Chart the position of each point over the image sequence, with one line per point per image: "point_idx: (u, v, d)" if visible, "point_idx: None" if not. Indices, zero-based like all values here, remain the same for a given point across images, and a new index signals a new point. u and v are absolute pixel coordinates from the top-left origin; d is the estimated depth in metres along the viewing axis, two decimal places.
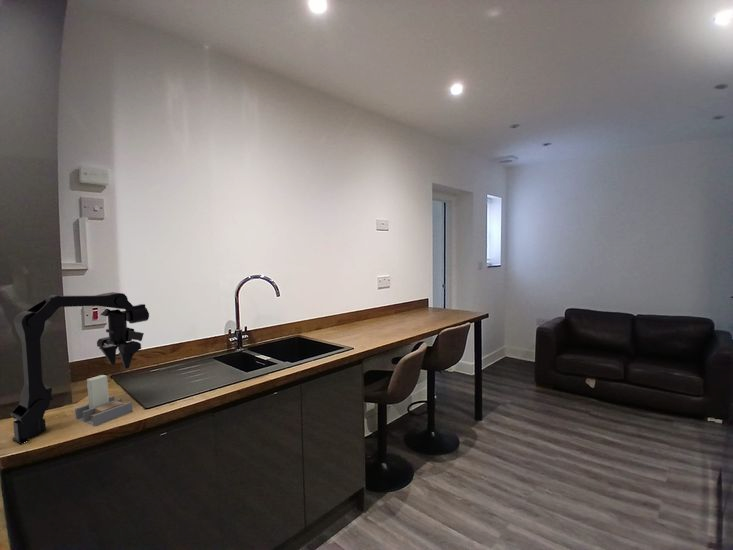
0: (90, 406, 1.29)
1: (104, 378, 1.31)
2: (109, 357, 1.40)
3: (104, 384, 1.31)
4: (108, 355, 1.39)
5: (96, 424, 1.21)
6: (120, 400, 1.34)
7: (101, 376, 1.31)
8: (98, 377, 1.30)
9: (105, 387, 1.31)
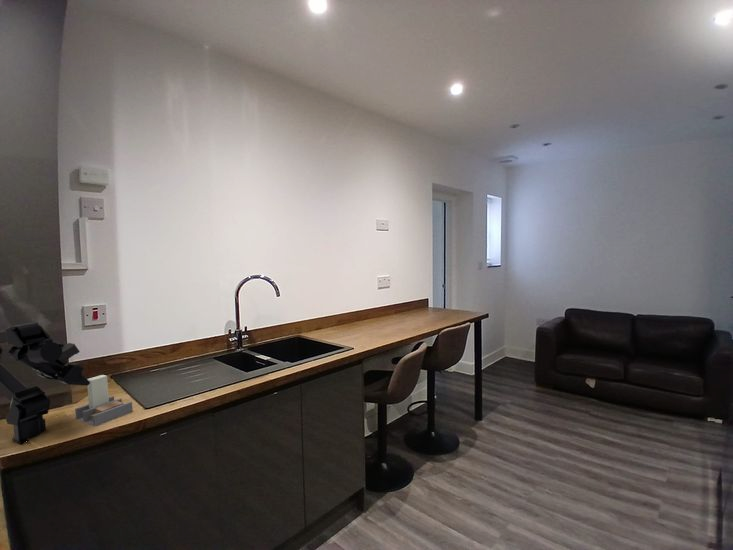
0: (90, 406, 1.29)
1: (104, 378, 1.31)
2: None
3: (104, 384, 1.31)
4: None
5: (96, 424, 1.21)
6: (120, 400, 1.34)
7: (101, 376, 1.31)
8: (98, 377, 1.30)
9: (105, 387, 1.31)
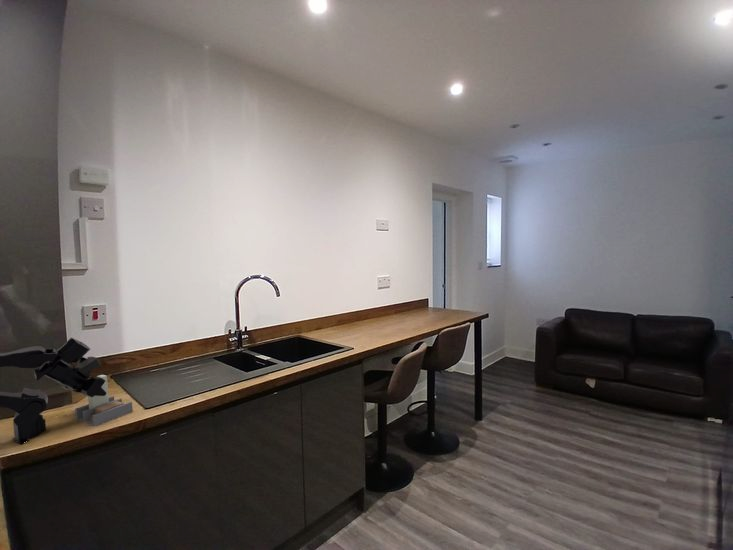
0: (90, 406, 1.29)
1: (104, 378, 1.31)
2: None
3: (104, 384, 1.31)
4: None
5: (96, 424, 1.21)
6: (120, 400, 1.34)
7: (101, 376, 1.31)
8: None
9: (104, 387, 1.31)
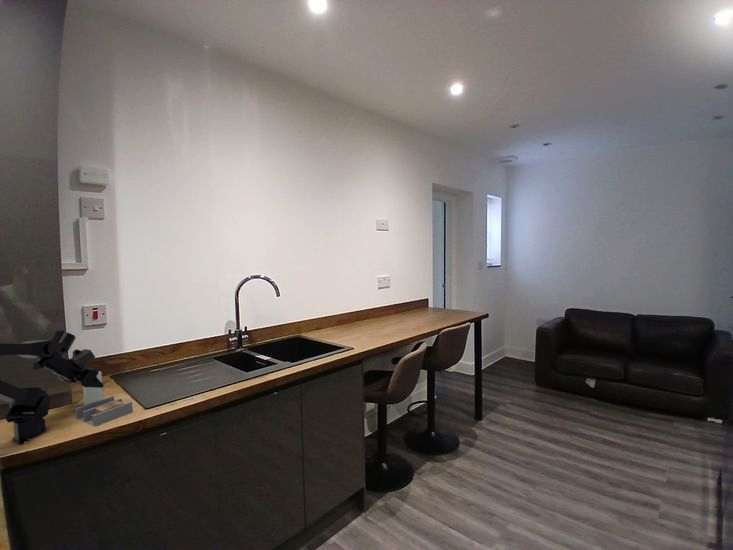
0: (85, 400, 1.35)
1: (98, 374, 1.37)
2: None
3: None
4: None
5: (96, 424, 1.21)
6: (120, 400, 1.34)
7: None
8: None
9: None
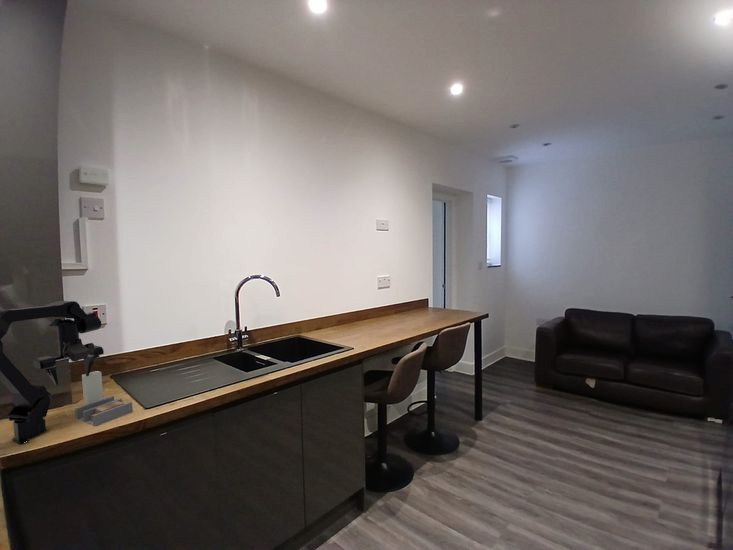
0: (85, 400, 1.35)
1: (98, 374, 1.37)
2: (85, 367, 1.34)
3: (98, 380, 1.37)
4: (84, 364, 1.34)
5: (96, 424, 1.21)
6: (120, 400, 1.34)
7: (95, 372, 1.37)
8: (92, 373, 1.36)
9: (99, 383, 1.37)
